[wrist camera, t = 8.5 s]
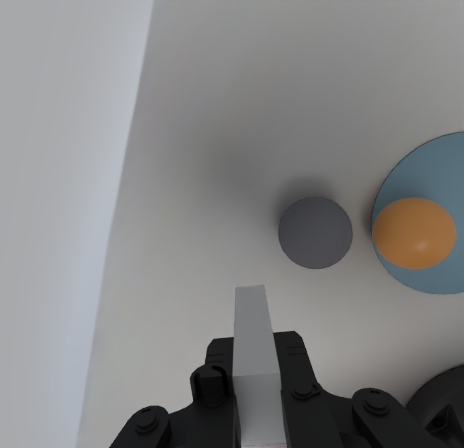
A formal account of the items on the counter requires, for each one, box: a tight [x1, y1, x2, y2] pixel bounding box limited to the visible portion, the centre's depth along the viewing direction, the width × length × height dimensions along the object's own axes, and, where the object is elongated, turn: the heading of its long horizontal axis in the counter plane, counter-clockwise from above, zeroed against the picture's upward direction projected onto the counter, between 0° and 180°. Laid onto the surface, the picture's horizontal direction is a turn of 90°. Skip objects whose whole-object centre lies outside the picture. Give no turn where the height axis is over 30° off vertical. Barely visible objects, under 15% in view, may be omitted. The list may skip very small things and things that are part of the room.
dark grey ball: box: [278, 197, 353, 269], centre depth 23 cm, size 6×6×6 cm
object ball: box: [372, 197, 456, 269], centre depth 23 cm, size 6×6×6 cm
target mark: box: [371, 132, 464, 294], centre depth 25 cm, size 14×14×1 cm
